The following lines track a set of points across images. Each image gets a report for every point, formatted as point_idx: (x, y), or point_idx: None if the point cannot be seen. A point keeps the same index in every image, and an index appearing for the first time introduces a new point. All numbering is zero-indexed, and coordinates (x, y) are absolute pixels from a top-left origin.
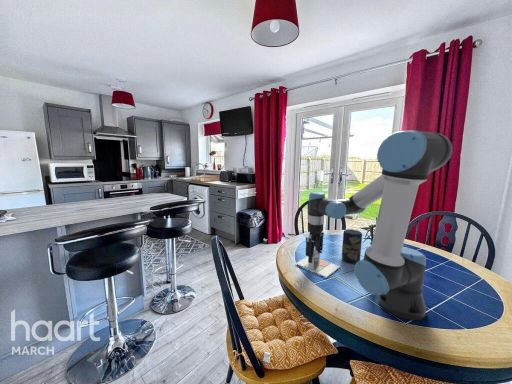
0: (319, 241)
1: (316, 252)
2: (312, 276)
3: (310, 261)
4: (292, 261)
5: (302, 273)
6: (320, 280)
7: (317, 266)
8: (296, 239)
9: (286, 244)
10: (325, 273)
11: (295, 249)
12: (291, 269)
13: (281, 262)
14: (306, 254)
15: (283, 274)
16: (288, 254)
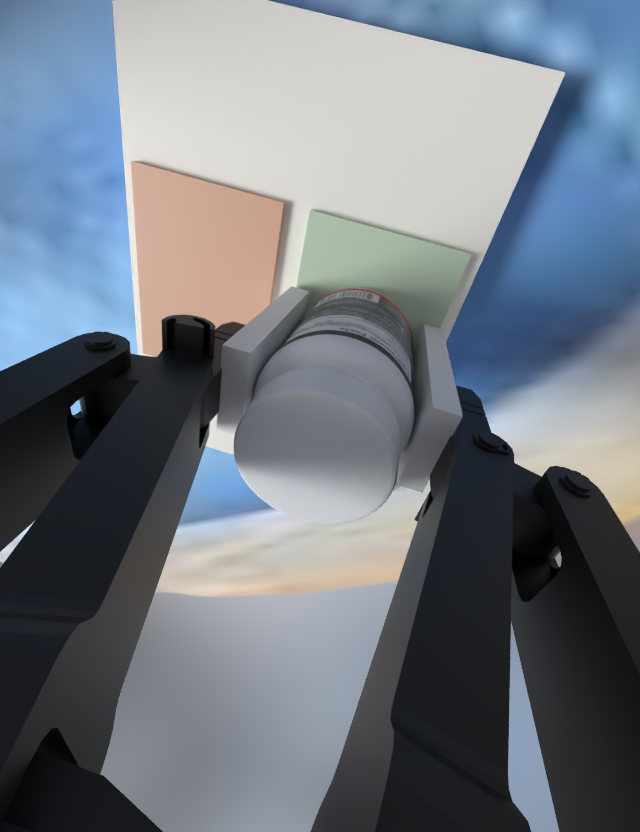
0: (46, 651)
1: (344, 415)
2: (550, 289)
3: (479, 409)
4: None
5: (518, 402)
6: (634, 153)
7: (365, 291)
8: (6, 548)
9: None
10: (459, 129)
11: None
12: None
13: (395, 573)
14: (551, 560)
15: None
16: (244, 555)
